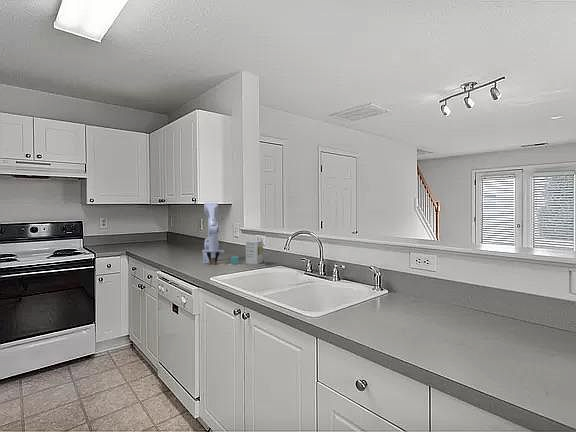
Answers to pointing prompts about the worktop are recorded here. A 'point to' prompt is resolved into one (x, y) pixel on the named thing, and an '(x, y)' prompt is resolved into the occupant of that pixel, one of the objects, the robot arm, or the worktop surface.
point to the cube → (234, 260)
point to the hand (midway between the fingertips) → (213, 263)
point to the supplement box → (254, 252)
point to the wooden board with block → (219, 263)
